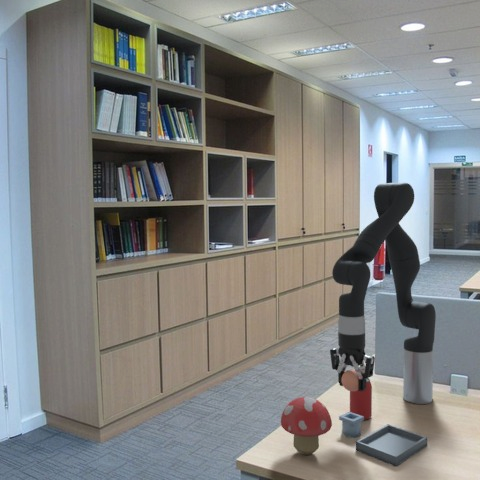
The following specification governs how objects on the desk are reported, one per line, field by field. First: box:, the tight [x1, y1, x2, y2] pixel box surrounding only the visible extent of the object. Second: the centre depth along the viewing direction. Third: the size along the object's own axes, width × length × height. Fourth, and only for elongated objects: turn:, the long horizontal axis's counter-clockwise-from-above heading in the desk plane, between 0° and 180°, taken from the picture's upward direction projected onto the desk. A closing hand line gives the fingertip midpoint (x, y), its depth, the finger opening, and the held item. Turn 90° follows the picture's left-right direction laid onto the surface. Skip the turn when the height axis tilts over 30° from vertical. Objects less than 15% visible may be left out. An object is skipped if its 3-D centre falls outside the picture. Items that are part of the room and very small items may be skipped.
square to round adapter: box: [338, 411, 365, 438], centre depth 150 cm, size 5×5×5 cm
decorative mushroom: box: [280, 396, 333, 456], centre depth 137 cm, size 13×13×15 cm
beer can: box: [349, 377, 373, 421], centre depth 161 cm, size 7×7×12 cm
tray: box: [355, 424, 428, 467], centre depth 140 cm, size 16×12×2 cm
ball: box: [341, 369, 359, 392], centre depth 149 cm, size 6×6×6 cm
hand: (352, 387), depth 149 cm, fingers closed on ball, 6 cm apart
